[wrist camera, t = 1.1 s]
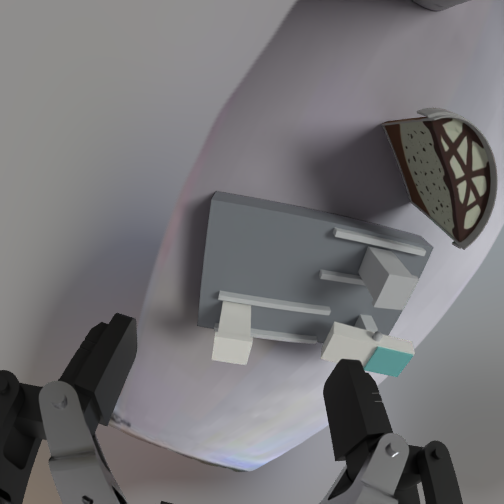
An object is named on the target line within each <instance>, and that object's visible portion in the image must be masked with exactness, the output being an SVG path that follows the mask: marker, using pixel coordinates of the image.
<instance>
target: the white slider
mask: <svg viewBox="0 0 504 504" xmlns="http://www.w3.org/2000/svg"><path fill="white" fill-rule="evenodd" d="M250 332H251V305H247V304H240V303H234V302H228V301H223V304H222V310H221V316H220V322H219V329H218V332H216V333H215V339H214V347H213V354H212V360H216V361H222V362H228V363H235V364H242V365H246V364H247V361H248V357H249V354H250V350H251V347H252V343H253V337H250Z"/></svg>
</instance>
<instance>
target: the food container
mask: <svg viewBox="0 0 504 504" xmlns="http://www.w3.org/2000/svg"><path fill="white" fill-rule="evenodd" d="M417 113H418V114H421V115H424V116H426V117H420V118H410V119H402V120H394V121H388V122H385V123H382V127H383V129H384V131H385V134H386V136H387V138H388V141H389V143H390V146H391V148H392V151H393V153H394V156H395V158H396V161H397V164H398V167H399V169H400V172H401V175H402V178H403V181H404V184H405V187H406V190H407V193H408V196H409V199H410V203H412V204H413V205H414V206H415V207H417V208H418V209H419V210H420V211H421V212H423V213H424V214H425V215H426V216H427V217H428V218H429V219H431V220H432V221H433V222H434V223H435V224H436V225H437V226H439V227H440V228H441V229H442V230H443V231H444V232H445V233H446V234H447V235H448V236H449V237H450V238H452V239H453V240H454V242H453V243H452V245H454V246H456V247H458V248H460V249H461V248H462V249H463V250H465V249H466V248H467V247H469V246H470V245H471V244H472V243H473V242H474V241H475V240H476V239H477V238H478V236H479V235H480V234H481V232H482V231H483V229H484V228H485V226H486V224H487V223H488V220H489V218H490V216H491V213H492V210H493V207H494V204H495V199H496V194H497V168H496V163H495V159H494V155H493V152H492V150H491V147H490V145H489V143H488V141H487V140H486V138H485V137H484V135H483V134H482V133H481V131H480V130H479V129H478V128H477V127H475V126H474V125H473V124H472V123H471V122H470V121H468V120H467V119H465V118H464V117H462V116H460V115H458V114H455V113H453V112H450V111H448V110H445V109H440V108H426V109H422V110H419V111H417Z"/></svg>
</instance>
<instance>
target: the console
mask: <svg viewBox="0 0 504 504" xmlns="http://www.w3.org/2000/svg"><path fill="white" fill-rule="evenodd" d="M368 246H369V247H374V248H378V249H383V250H387V251H392V252H393V253H394V254H395V255H396V257H397V258H398V259H399V260H400V261H401V263H402V264H403V265H404V266H405V267H406V269H407V270H408V271H409V272H410V274H411V275H415V276H417V277H418V279H419V278H420V276H421V274H422V272H423V270H424V267H425V265H426V263H427V261H428V259H429V256H430V254H431V252H432V249H433V247H432V246H431V245H430V244H429V243H428V242H427V241H426V240H425V239H424V238H422V237H421V236H419V235H415V234H412V233H408V232H404V231H401V230H397V229H393V228H389V227H385V226H382V225H378V224H374V223H370V222H366V221H362V220H357V219H353V218H349V217H345V216H340V215H336V214H332V213H327V212H323V211H318V210H314V209H309V208H304V207H299V206H295V205H290V204H285V203H280V202H274V201H269V200H264V199H259V198H253V197H248V196H242V195H236V194H230V193H224V192H218V191H216V192H215V194H214V196H213V198H212V200H211V206H210V214H209V221H208V229H207V237H206V245H205V254H204V262H203V271H202V281H201V291H200V301H199V312H198V324H197V326H201V327H206V328H212V329H214V331H216V332H218V329H219V322H220V316H221V310H222V304H223V301H228V302H234V303H240V304H247V305H251V332H250V337H255V338H262V339H270V340H278V341H287V342H296V343H306V344H316V343H317V342H320V343H324V342H325V340H326V338H327V336H328V334H329V332H330V330H331V328H332V326H333V323H334V321H335V322H338V323H342V324H345V325H349V326H353V327H356V328H360V329H364V330H368V331H372V332H376V331H378V332H381V333H382V334H383V335H387V336H388V335H389V333H390V331H391V330H392V328H393V326H394V325H395V323H396V321H397V320H398V318H399V316H400V314H401V312H402V311H403V310H396V309H386V308H377V307H373V305H372V301H373V298H372V296H371V294H370V293H369V291H368V289H367V287H366V285H365V284H364V282H363V280H362V278H361V277H360V275H359V273H358V271H359V268H360V266H361V264H362V261H363V258H364V256H365V253H366V251H367V248H368Z"/></svg>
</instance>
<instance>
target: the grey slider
mask: <svg viewBox="0 0 504 504" xmlns="http://www.w3.org/2000/svg"><path fill="white" fill-rule="evenodd" d="M358 273H359V275H360V277H361V278H362V280H363V282H364V284H365V285H366V287H367V289H368V291H369V293H370V294H371V296H372V298H373V301H372V305H373V307H377V308H386V309H396V310H403V309H404V308H405V306H406V304H407V302H408V300H409V298H410V296H411V294H412V293H413V291H414V289H415V287H416V285H417V283H418V281H419V279H418V277H417V276H415V275H411V274H410V272H409V271H408V270H407V269H406V267H405V266H404V265H403V264H402V263H401V261H400V260H399V259H398V258H397V257H396V255H395V254H394V253H393V252H392V251H387V250H383V249H378V248H374V247H369V246H368V248H367V251H366V253H365V256H364V258H363V261H362V264H361V266H360V268H359V271H358Z"/></svg>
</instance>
